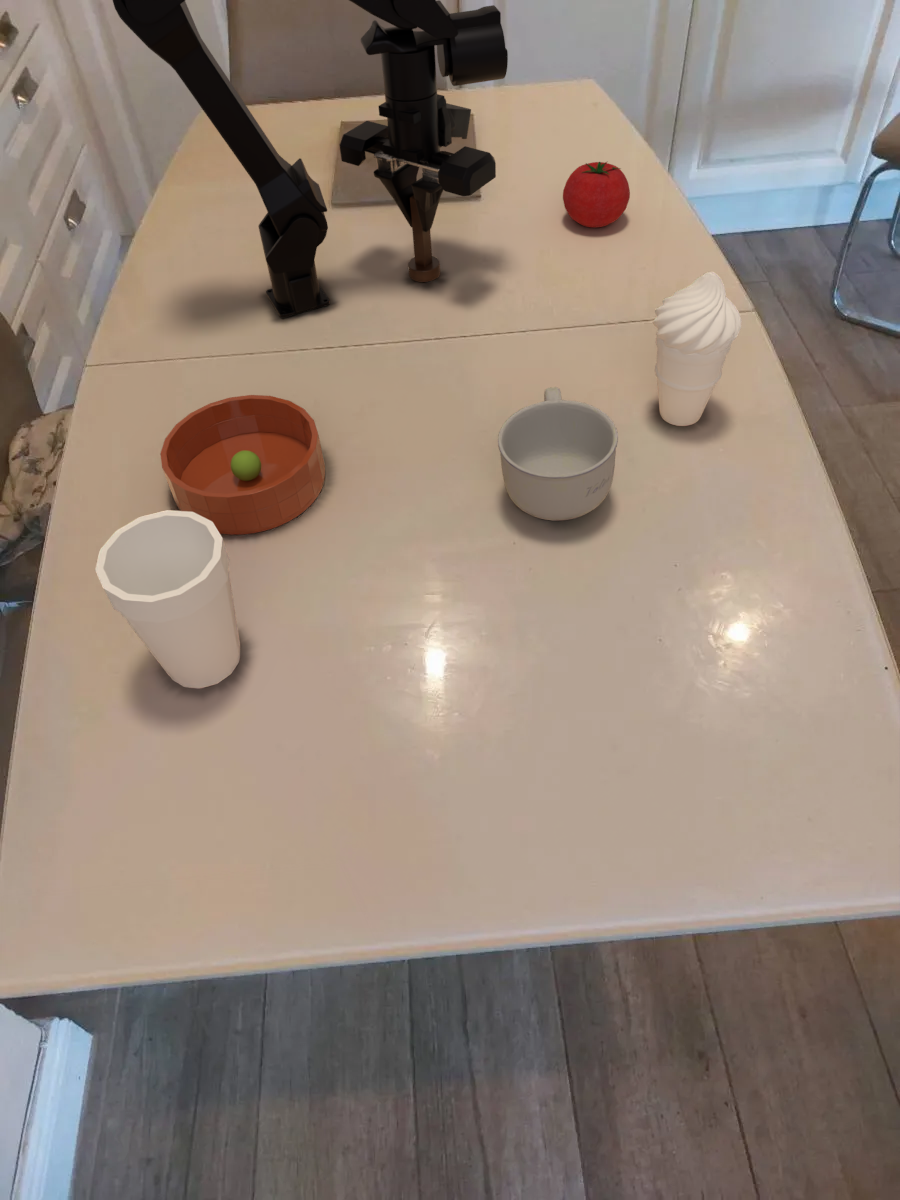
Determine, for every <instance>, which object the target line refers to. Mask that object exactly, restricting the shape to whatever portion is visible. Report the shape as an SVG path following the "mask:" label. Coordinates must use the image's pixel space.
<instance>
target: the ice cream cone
mask: <svg viewBox="0 0 900 1200" xmlns="http://www.w3.org/2000/svg"><path fill="white" fill-rule="evenodd" d="M726 291H727V290H726V286H725V284H724V282H723V279H722V278H721V277H720V275H719V274H717V272H715V271H707V272H704V273H703V274H702V275H700V276H698V277H696V278H695V279H694V281H693V282H692V283H690V284H689V285H687V286H686V287H684V288H681V289H678V290H676V291H674V292H673V294H672V295H671V296H666V297H664V298H663V299H662V305H660V306H658V307H656V308H655V309H654V313H655V316H656V317H655V318H654V319H653V320H652V324H653V326H654V327H655V328H656V329H657V331H656V334H655V335H656V337H655V346H656V357H655V359H656V360H655V361H656V362H655V365H654V374H655V376H656V386H657V396H658V409H659V415H660V417H661V418H662V420H664V422H666V423H667V424H670V425H673V426H677V427H688V426H692V425H695V424H696V423H697V422H698V421H700V419H701V418H702V415H703V413H704V411H705V409H706V407H707V404H708V402H709V400H710V398H711V396H712V394H713V391H714V389H715V387H716V385H717V384H718V383H719V382H720V380H721V378H722V374H723V373H722V371H723V367H724V364H725V362H726V358H727V355H728V354H729V353H730V350H731V349H732V348H731V347H732V344H733V343H734V342H735V340H736V339H737V338H738V335H739V333H740V331H741V329H742V317H741V313H740V311H739V310H738V308H737V306H736V305H735V303H734V302H733V301H732V300H731V299H730V298H729V297H727V292H726Z"/></svg>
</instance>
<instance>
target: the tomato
mask: <svg viewBox="0 0 900 1200" xmlns="http://www.w3.org/2000/svg"><path fill="white" fill-rule="evenodd" d="M608 162H609V161H606V162H603V161H594V162H588V163H587V162H585V164H581V165H579V166H578V167H576V169H574V170H573V171H572V172H571V173H570V175H569V177H568V178H567V180H566V182H565V185H564V187H563V190H562V191H563V192H562V201H563V205H564V209H565V212H566V213H567V214H568V215H569V217H570V219H572V220H573V221H574V222H576V223H578V224H579V225H582V226H583V227H586V228H602V227H606V226H608V225H610V224H612V223H614V222H615V221H617V220H618V219H620V217H621V216H622V215H623V213H624V212H625V211H626V209H627V207H628V205H629V202H630V198H631V191H630V185H629V181H628V180H627V179H628V178H627V177H626V175H625V173H624V172H623V171H622V170H621V169H622V168H621V167H618V166H616V165H614V164H611V163H608Z"/></svg>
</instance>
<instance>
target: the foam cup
mask: <svg viewBox="0 0 900 1200" xmlns="http://www.w3.org/2000/svg"><path fill="white" fill-rule="evenodd" d="M230 560H231V559H230V556H229V553H228V550H227V547H226V545H225V541H224V538H223V536H222V534H221V533H219V532H218V530H217V528H216V527H215V525H214V523H213V522H212V521H210V520H208V519H206V518H204V517H202V516H200V515H198V514H196V513H194V512H188V511H180V510H170V509H166V510H162V511H158V512H154V513H149V514H145V515H141V516H138V517H136V518H135V519H133V520H132V521H130V522H128V523H126V524H124V525H123V526H122V527H120V528H118V529H116V530H115V531H114V532H113V533H112V535H111V536H110V537H109V538H108V539H107V541H106V542H105V543H104V544H103V545H102V547H101V548H100V549H99V552H98V557H97V560H96V564H95V569H94V571H95V574H96V575H97V578H98V580H99V582H100V585H101V587H102V588H103V591H104V593H105V595H106V596H107V599H108V600H109V602H110V604H111V606H112V608H113V610H115V611H117V612H118V613H120V615H121V616H122V617H123V618H124V619H125V621H126V622H127V623H128V625H129V626H130V627H131V629H132V630H133V631H134V633H135V634H136V635H137V637H138V638H139V639H140V641H141V642H142V643H143V644H144V645H145V647H146V648H147V650H148V651H149V652H150V653H151V655H152V656H153V658H155V660H156V661H157V662H158V664H159V665H160V666H161V668H162V669H163V670H164V672H165V673H166V674H167V675H168V677H170V678H171V680H172V681H173V682H175V683H176V684H178V685H180V686H181V687H184V688H189V689H205V688H207V687H211V686H214V685H217V684H219V683H221V682H222V681H223V680H225V679H226V678H228V677H229V676H230V675H232V674H233V672H234V670H235V669H236V667H237V666H238V665H239V663H240V658H241V641H240V634H239V628H238V621H237V616H236V615H237V614H236V609H235V602H234V601H235V600H234V595H233V589H232V583H231V582H232V581H231V576H230V575H231V574H230Z"/></svg>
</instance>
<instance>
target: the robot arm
mask: <svg viewBox="0 0 900 1200" xmlns="http://www.w3.org/2000/svg"><path fill="white" fill-rule="evenodd" d="M348 1H349V2H351V3H353V4H354V5H356V6H357V7H359V8H360V9H362V10H364V11H365V12H367V13H369V15H372V16H374V17H376V18H378V19H380V20H382V21H384V22H386V23H388V24H390V25H392V26H391V27H384V26H382V25H381V24H380V23H379V22H378V21H377V20H375V19H373V20H372V22H371V25H370V26H369V29H368V30H367V31H365V33H364V34H363V35H362V36H361V37H360V44H361V45H362V47H363V49H364V51H365V53H366V54H367V56H373V55H380V57H381V58H380V59H381V68H382V79H383V80H382V81H383V89H384V100H385V102H383V103H381V104H379V105H378V115H379V117H383V118H387V120H386V121H387V125H385V124H382V123H379V122H374V121H371V120H365V121H364V122H362V123H360V124H359V125H356V126H355V127H354V128H352V129H350V130H348V131H347V132H345V133H343V134H342V136H341V139H340V141H339V144H338V145H339V153H340V159H341V162H342V163H346V164H350V165H353V166H356V167H359V166H361V165H362V164H363V163H364V162H365V161H366V159H367V157H366V153H368V154H373V158H375V159H376V168H377V169H375V170H374V171H373V177H375V178H376V179H378V180H380V182H381V184H382V185H383V186H384V188H385V189H386V191H387V193H389V194H390V196H391V198H392V199H393V200H394V202H395V204H396V205H397V207H398V209H399V210H400V212H401V213H402V215H403V217H404V218H405V220H406V221H407V223H408V226H409V227H410V228H412V220H411V208H410V197H411V196H413V195H414V197H415V201H416V205H417V210H418V214H419V218H420V222H421V225H422V228H423V231H425V232H427V231H429V230H430V231H431V230H432V228H433V224H434V220H435V217H436V213H437V210H438V206H439V204H440V200H441V197H442V195H443V192H446V193H449V194H454V195H457V196H460V197H470V196H472V195H473V194H475V193H476V192H477V191H479V190H480V189H482V188H483V187H484V186H486V185H487V184H489V183H490V182H491V181H493V180H494V179H496V177H497V174H496V173H497V169H496V168H497V167H496V165H497V164H496V159H495V157H494V156H493V155H492V154H491V152H489V151H486V150H485V151H484V150H481V149H477V148H475V147H474V148H473V147H470V146H463V147H462V148H460V149H459V150H457V151H455V152H454V153H453V152H450V151H446V150H441V148H442V147H444V148H447V147H449V146H450V145H451V144H452V143H453V139H452V138H461V139H462V140H467V139H468V133H469V127H470V121H471V114H472V109H471V108H468V107H464V106H461V105H456V104H452V103H447V100H446V97H445V95H442V94H438V86H437V68H436V66H437V65H436V56H437V63H438V68H439V72H440V75H441V77H442V78H445V77H448V79H449V81H450V83H451V85H452V86H453V87H457V86H465V85H471V84H478V83H485V82H492V81H497V80H504V79H505V78H506V76H507V71H508V62H509V51H508V49H507V48H506V39H505V34H504V30H503V25H502V23H501V22H502V21H501V19H502V16H501V11H500V10H499V9H498V8H497V6H496V5H493V4H492V5H486V6H482V7H479V8H478V9H474V10H465V11H461V12H460V11H458V12H451V13H450V12H449V10H448V9H447V8H446V6H445V5H444V4H443V3H442V1H441V0H348ZM112 3H113V7H114V10H115V11H116V13H117V15H118V17H119V18H120V20H121V21H122V22H123V23H124V25H126V26H127V27H128V28H129V29H130V31H132V32H133V34H135V35H136V36H137V38H139V40H140V41H141V42H142V43H143V44H144V45H145V46H146V47H147V48H148V49H149V50H150V51H151V52H152V53H154V54H156V55H157V57H159V58H160V59H162V60H163V61H164V62H165V63H167V64H168V65H169V66H170V67H171V68H172V69H173V70H174V71H175V73H176V74H177V75H178V77H179V79H180V80H181V81H182V83H183V84H184V86H185V87H186V88H187V90H188V91H189V93H190V94H191V95H192V97H193V98H194V100H195V101H196V102H197V104H198V105H199V107H200V108H201V109H202V111H203V112H204V113H205V115H206V117H207V118H208V119H209V121H210V122H211V123H212V125H213V126H214V128H215V129H216V131H217V133H218V134H219V135H220V136H221V138H222V139H223V140H224V142H225V144H226V145H227V146H228V147H229V149H230V151H231V152H232V154H233V155H234V156H235V158H236V159H237V160H238V162H239V163H240V164H241V166H242V167H243V169H244V170H245V172H246V173H247V174H248V176H249V177H250V179H251V180H252V181H253V183H254V184H255V187H256V188H257V190H258V193H259V195H260V198H261V200H262V202H263V204H264V207H265V209H266V212H267V213H266V214H265V215H264V216H263V218H262V220H261V221H260V222H259V224H258V231H259V235H260V239H261V244H262V249H263V253H264V254H263V255H264V259H265V262H266V265H267V270H268V276H269V280H270V284H271V288H268V289H266V290H265V294H266V297H267V298H268V300H269V301H270V303H271V305H272V307H273V308H274V310H275V312H276V313H277V315H278V316H279V317H280V318H281V319H285V318H288V317H292V316H296V315H299V314H302V313H306V312H310V311H314V310H316V309H317V310H318V309H319V308H323V307H327V306H329V305H330V304H331V302H330V298H329V297H328V296H327V294H326V293H325V292H324V290H323V288H322V287H321V286H320V284H319V279H318V272H317V266H316V262H315V261H316V260H315V258H316V254H317V250H318V249H317V248H318V247H319V246H320V245H321V244H322V243H324V240H325V239H326V237H327V232H328V230H329V229H328V228H329V226H328V221H327V217H326V215H325V213H327V212H328V207H327V205H326V202H325V199H324V196H323V194H322V190H321V187H320V184H319V183H318V182H316V181H315V180H314V179H312V177H311V176H310V175H309V172H308V170H307V169H306V166H305V164H304V161H303V159H302V158H301V157H300V158H298V159H297V160H296V161H295V162H294V163H292V164H291V163H289V162H288V161H287V160H286V159H284V158H283V157H282V156H281V155H280V154H279V153H278V151H277V149H276V148H275V147H274V145H273V144H272V142H271V141H270V139H269V138H268V136H267V135H266V134H265V132H264V130H263V129H262V127H261V126H260V124H259V123H258V121H257V119H256V118H255V117H254V115H253V114H252V112H251V111H250V109H249V108H248V106H247V105H246V104H245V101H244V100H243V99H242V97H241V96H240V94H239V93H238V91H237V90H236V88H235V87H234V85H233V84H232V82H231V81H230V79H229V77H228V76H227V74H226V73H225V71H224V70H223V69H222V67H221V66H220V64H219V63H218V61H217V60H216V58H215V57H214V55H213V53H211V51H210V49H209V48H208V46H207V45H206V43H205V42H204V40H203V39H202V37H201V35H200V33H199V30H198V28H197V25H196V24H195V20H194V19H193V17H192V14H191V12H190V10H189V7H188V5H187V2H186V0H112ZM417 28H418V29H420V30H418V31H417V30H414V29H417ZM435 47H436V49H435ZM420 168H421V169H422V174H421V176H422V177H421V178H419V179H418V174H419V169H420ZM417 179H418V180H417Z"/></svg>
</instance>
